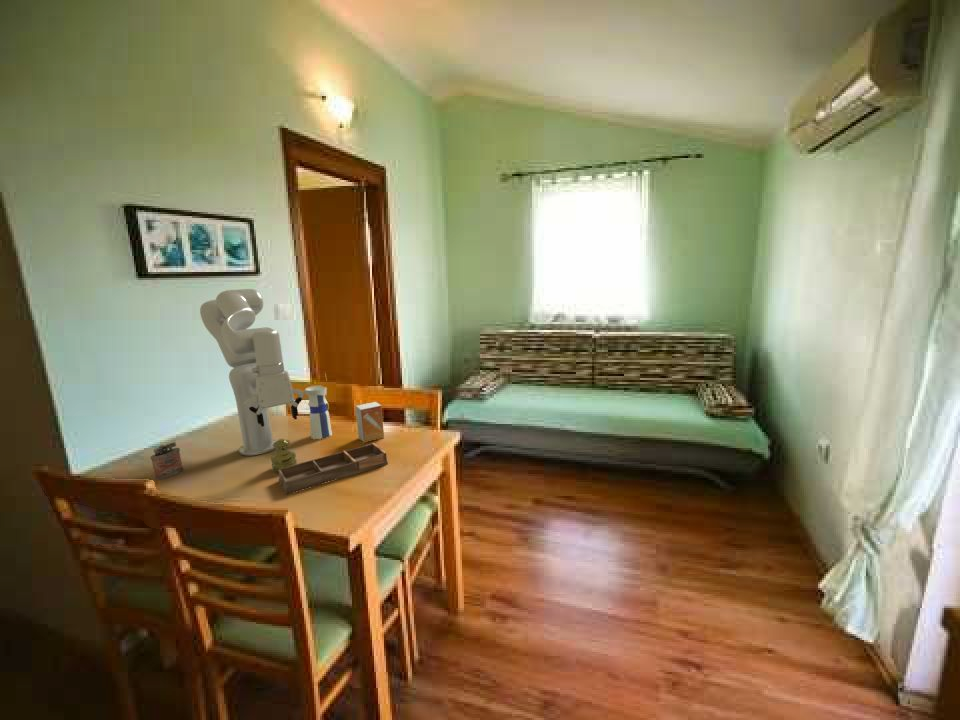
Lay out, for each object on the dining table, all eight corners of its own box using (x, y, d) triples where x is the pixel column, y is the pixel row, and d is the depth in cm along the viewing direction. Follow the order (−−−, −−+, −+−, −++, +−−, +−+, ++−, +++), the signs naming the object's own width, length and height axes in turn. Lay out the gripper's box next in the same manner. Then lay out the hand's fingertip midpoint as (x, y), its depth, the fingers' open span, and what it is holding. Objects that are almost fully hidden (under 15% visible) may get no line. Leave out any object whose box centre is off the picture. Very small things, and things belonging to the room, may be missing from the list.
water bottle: (326, 430, 176) (319, 369, 170) (336, 434, 170) (329, 372, 165) (306, 436, 170) (298, 374, 165) (316, 441, 164) (308, 377, 159)
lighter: (157, 480, 137) (151, 450, 135) (153, 478, 139) (146, 448, 137) (185, 470, 144) (180, 441, 142) (180, 468, 146) (175, 439, 144)
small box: (363, 443, 160) (360, 409, 157) (358, 438, 165) (354, 405, 163) (384, 438, 164) (381, 405, 162) (378, 433, 170) (375, 401, 167)
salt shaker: (269, 469, 142) (264, 440, 140) (291, 461, 147) (288, 433, 145) (277, 475, 137) (273, 446, 135) (301, 467, 142) (297, 438, 140)
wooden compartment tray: (278, 481, 133) (277, 468, 132) (374, 453, 151) (373, 442, 150) (287, 495, 124) (285, 482, 123) (388, 464, 141) (387, 452, 141)
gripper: (241, 376, 127) (250, 431, 130) (302, 366, 137) (310, 418, 140) (238, 372, 133) (246, 425, 137) (297, 363, 143) (304, 413, 146)
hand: (278, 421), depth 138 cm, fingers open, 9 cm apart
